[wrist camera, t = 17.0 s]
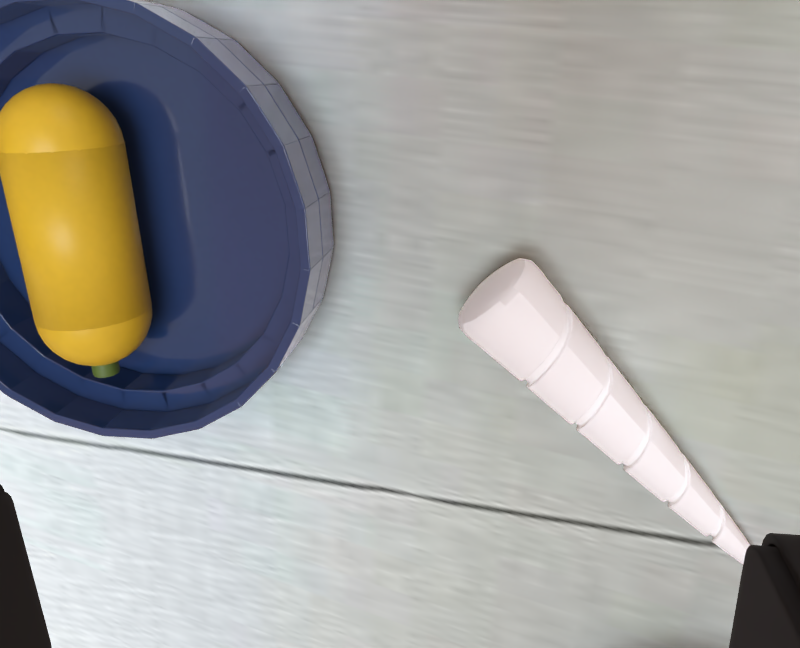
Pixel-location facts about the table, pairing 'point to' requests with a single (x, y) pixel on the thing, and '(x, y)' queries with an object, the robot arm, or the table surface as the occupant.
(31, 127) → the squash
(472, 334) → the unicorn horn
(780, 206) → the table surface
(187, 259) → the shallow blue dish
